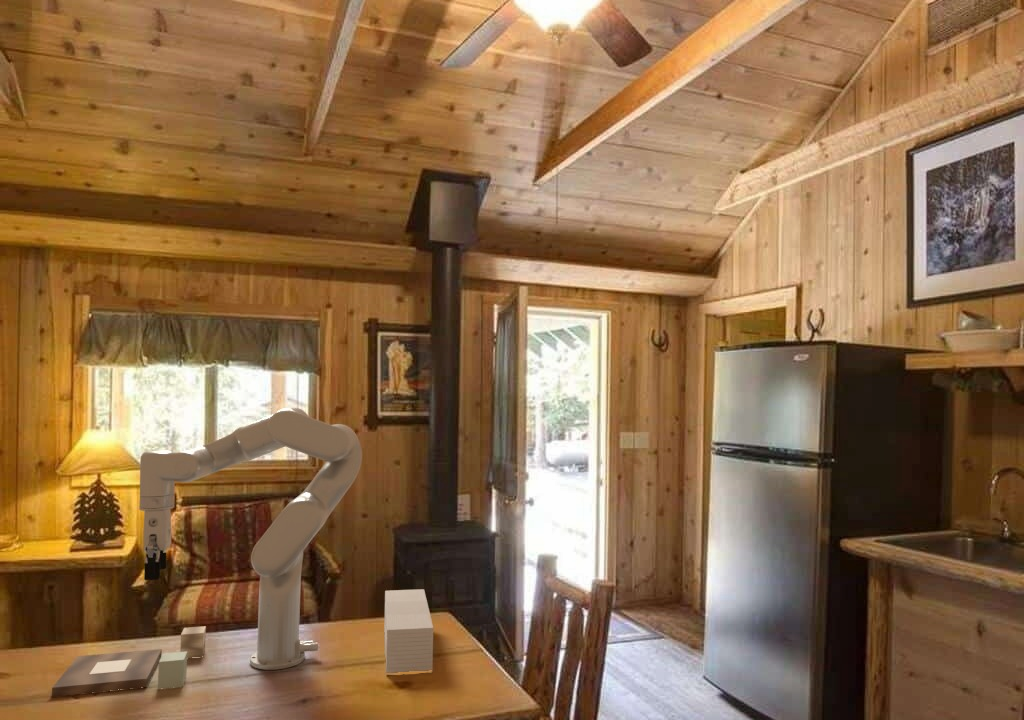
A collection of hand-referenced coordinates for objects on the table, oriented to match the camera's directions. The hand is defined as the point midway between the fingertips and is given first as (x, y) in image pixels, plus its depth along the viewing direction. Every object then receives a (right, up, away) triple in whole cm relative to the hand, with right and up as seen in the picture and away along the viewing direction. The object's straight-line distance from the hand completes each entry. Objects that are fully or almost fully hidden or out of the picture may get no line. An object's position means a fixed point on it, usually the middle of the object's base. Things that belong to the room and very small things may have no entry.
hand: (155, 574), depth 167 cm
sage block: (+10, -21, -12) cm, 26 cm away
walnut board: (-6, -20, -9) cm, 23 cm away
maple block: (+7, -21, +5) cm, 23 cm away
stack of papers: (+58, -23, +10) cm, 64 cm away
